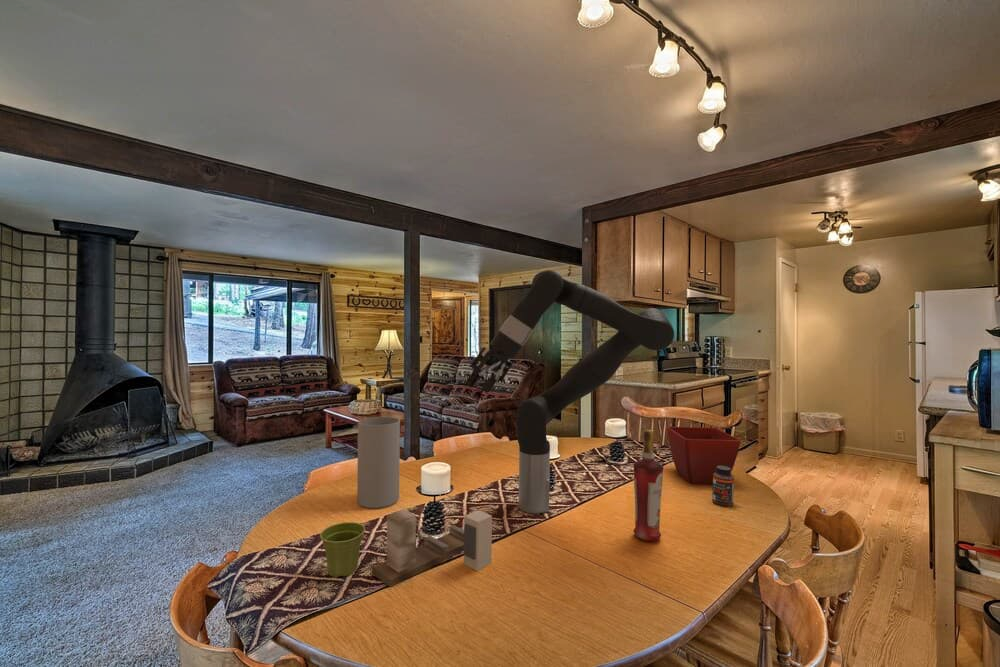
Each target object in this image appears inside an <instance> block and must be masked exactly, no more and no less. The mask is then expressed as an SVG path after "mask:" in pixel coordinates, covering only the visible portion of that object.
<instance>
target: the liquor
mask: <svg viewBox="0 0 1000 667" xmlns="http://www.w3.org/2000/svg"><path fill="white" fill-rule="evenodd" d="M654 441H655V430H653V429H652V430H651V429H643V442H644V443H643V452H642V459H639V460H637V461H635V462H633V486H634V487H633V489H634V515H635V519H634V520H635V521H634V525H635V526H634V528H633V533H634V535H635V536H636V537H637V538H638V539H639V540H640V541H642V542H647V543H654V542H655V541H657V540H658V539H660V538H661V537H662V533H661V532H660V524H661V504H662V503H661V502H662V495H663V494H662V493H663V478H664V466H663V465H662V464H661V463H660V462H658V461H656V460H655V452H654V451H655V450H654Z"/></svg>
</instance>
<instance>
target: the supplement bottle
mask: <svg viewBox="0 0 1000 667" xmlns="http://www.w3.org/2000/svg"><path fill="white" fill-rule="evenodd" d="M734 488H735V477H734V475H733V474H732V471H731V468H729V467H726V466H717V472H715V473H714V474H713V484H712V496H711V498H712V502H713V503H714V504H716V505H718V506H722V507H731V506H732V505H734Z"/></svg>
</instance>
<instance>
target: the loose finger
mask: <svg viewBox="0 0 1000 667" xmlns="http://www.w3.org/2000/svg"><path fill="white" fill-rule="evenodd" d="M463 517H464V519H463V520H464V521H463V526H464V527H463V530H464V551H463V564H464V565H465V566H467V567H469V568H471V569H473V570H475V571H477V572H478V571H481V570H482V569H484V568H486V567H487V566H489V565H491V564H492V552H493V551H492V549H493V548H492V543H493V542H492V540H493V539H492V538H493V534H492V533H493V530H492V529H493V516H492V515H490V514H488V513H486V512H484V511H481V510H479V509H478V510H475V511H473V512H471V513H468V514H465V515H464V516H463Z"/></svg>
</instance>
